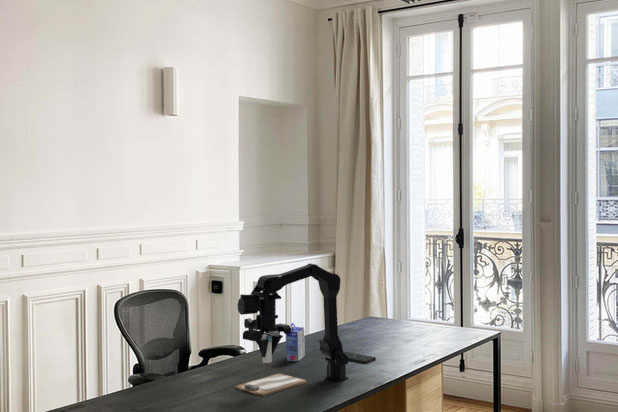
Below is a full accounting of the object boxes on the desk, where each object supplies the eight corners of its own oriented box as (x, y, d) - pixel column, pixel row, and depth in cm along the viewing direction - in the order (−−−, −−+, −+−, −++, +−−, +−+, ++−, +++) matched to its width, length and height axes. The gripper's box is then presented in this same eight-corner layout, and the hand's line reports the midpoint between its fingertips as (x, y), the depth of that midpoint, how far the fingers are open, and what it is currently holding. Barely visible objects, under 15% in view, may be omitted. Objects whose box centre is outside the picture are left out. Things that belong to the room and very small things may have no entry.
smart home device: (365, 360, 278) (325, 353, 290) (365, 365, 278) (325, 357, 290) (376, 356, 285) (337, 349, 297) (376, 361, 285) (337, 353, 297)
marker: (274, 365, 242) (274, 336, 242) (267, 366, 240) (267, 338, 240) (267, 363, 245) (267, 335, 244) (260, 365, 242) (260, 336, 242)
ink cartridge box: (292, 355, 292) (292, 321, 292) (305, 356, 291) (305, 321, 290) (285, 360, 283) (285, 325, 282) (298, 361, 281) (298, 326, 281)
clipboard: (306, 382, 252) (306, 377, 252) (263, 396, 235) (263, 390, 235) (279, 375, 261) (279, 370, 261) (235, 388, 245) (235, 383, 245)
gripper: (270, 306, 254) (269, 348, 254) (231, 312, 240) (231, 357, 241) (292, 309, 247) (291, 353, 247) (254, 317, 233) (253, 363, 233)
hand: (267, 356), depth 242 cm, fingers closed on marker, 3 cm apart
